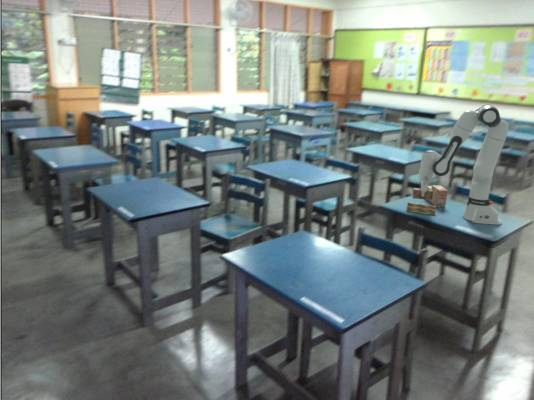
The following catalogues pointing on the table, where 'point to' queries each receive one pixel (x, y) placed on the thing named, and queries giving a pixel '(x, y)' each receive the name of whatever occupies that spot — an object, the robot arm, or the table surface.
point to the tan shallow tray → (421, 208)
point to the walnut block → (418, 193)
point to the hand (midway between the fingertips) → (422, 195)
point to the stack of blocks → (438, 195)
